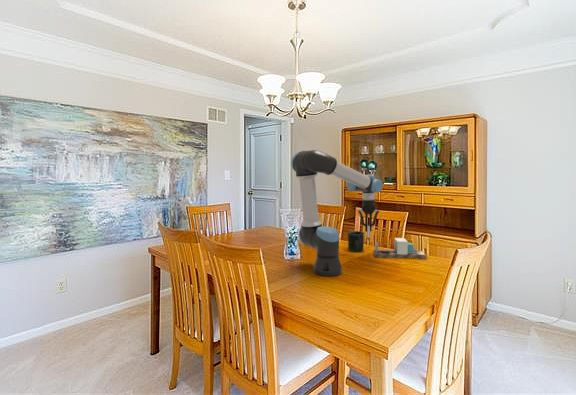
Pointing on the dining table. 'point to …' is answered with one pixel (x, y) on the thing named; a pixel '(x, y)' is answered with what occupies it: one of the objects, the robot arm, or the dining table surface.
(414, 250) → the sled
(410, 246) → the block
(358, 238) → the mug
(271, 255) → the dining table surface
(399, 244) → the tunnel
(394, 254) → the deck
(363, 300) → the dining table surface
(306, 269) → the dining table surface
